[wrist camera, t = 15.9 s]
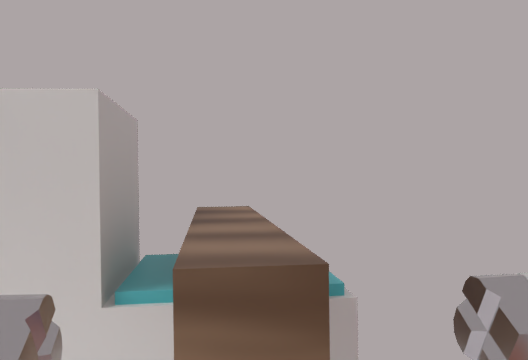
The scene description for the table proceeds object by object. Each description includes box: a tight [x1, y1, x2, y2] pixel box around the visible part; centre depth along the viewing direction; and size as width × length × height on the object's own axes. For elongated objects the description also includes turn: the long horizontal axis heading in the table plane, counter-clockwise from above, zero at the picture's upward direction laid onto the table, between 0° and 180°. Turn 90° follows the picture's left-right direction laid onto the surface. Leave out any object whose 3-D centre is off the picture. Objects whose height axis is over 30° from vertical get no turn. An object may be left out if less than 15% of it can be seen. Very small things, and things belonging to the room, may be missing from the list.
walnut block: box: [173, 206, 330, 360], centre depth 25 cm, size 26×4×3 cm, turn 6°
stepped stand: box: [0, 88, 358, 360], centre depth 28 cm, size 12×22×26 cm, turn 96°
